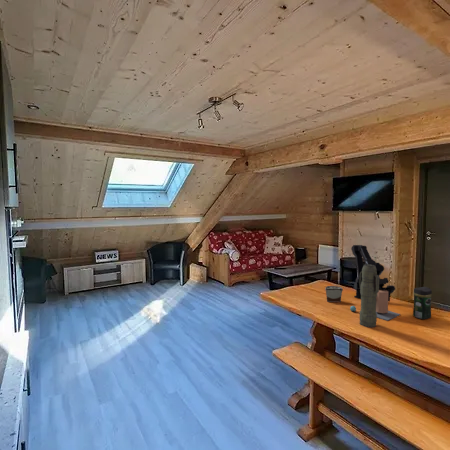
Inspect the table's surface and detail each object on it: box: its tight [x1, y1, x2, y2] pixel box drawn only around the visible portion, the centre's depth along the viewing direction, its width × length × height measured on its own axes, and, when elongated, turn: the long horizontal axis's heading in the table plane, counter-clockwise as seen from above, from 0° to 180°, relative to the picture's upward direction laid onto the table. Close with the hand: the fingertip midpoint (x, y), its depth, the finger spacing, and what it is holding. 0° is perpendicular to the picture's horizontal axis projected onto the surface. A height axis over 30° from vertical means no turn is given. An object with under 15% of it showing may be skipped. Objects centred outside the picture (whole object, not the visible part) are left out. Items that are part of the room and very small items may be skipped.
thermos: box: [359, 263, 380, 328], centre depth 173 cm, size 9×12×35 cm
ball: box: [349, 305, 357, 312], centre depth 195 cm, size 4×4×4 cm
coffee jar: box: [412, 286, 433, 320], centre depth 184 cm, size 10×8×19 cm
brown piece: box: [376, 289, 389, 313], centre depth 189 cm, size 7×7×13 cm
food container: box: [324, 285, 344, 303], centre depth 216 cm, size 12×6×10 cm, turn 84°
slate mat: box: [376, 310, 401, 322], centre depth 190 cm, size 16×16×1 cm
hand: (382, 301), depth 188 cm, fingers closed on brown piece, 8 cm apart
